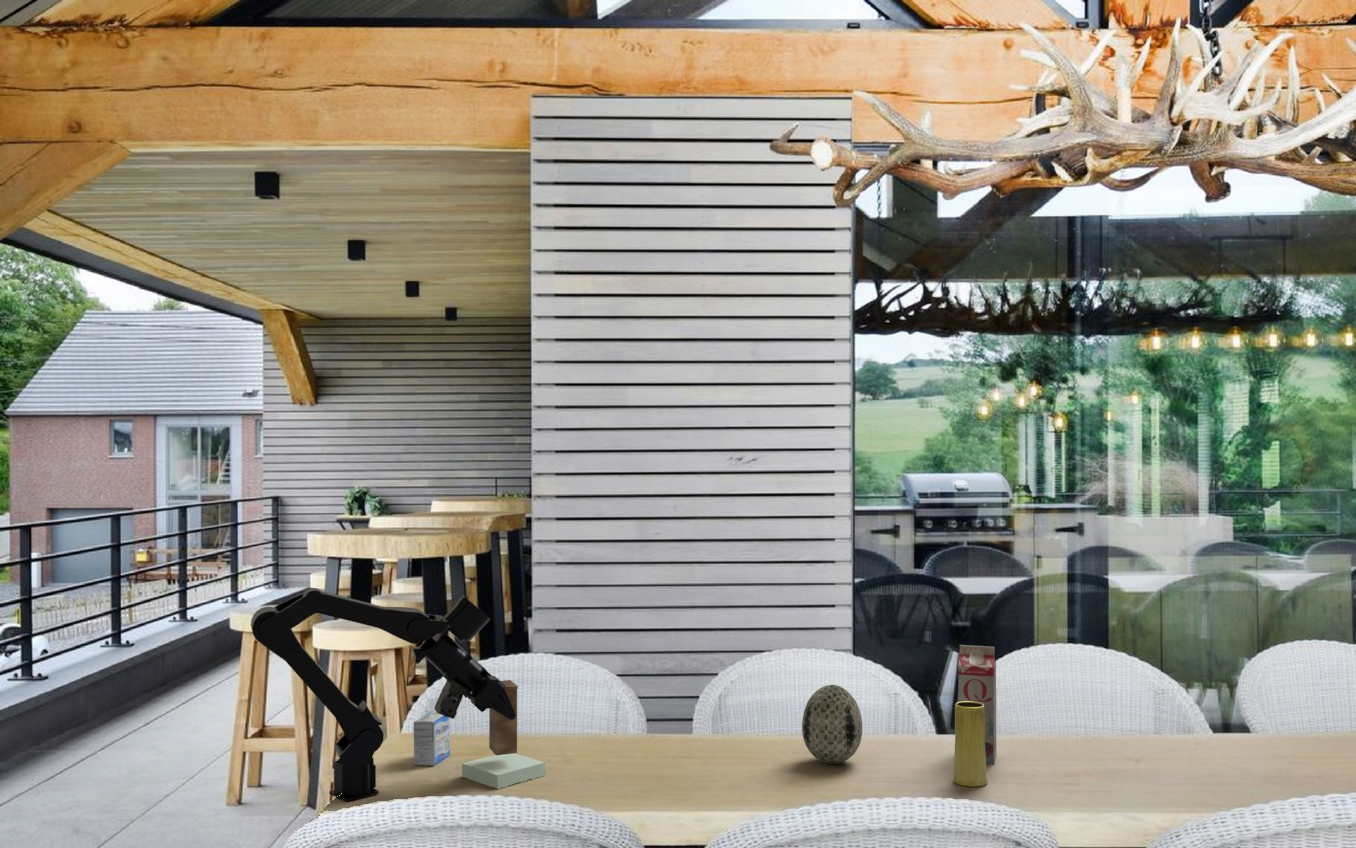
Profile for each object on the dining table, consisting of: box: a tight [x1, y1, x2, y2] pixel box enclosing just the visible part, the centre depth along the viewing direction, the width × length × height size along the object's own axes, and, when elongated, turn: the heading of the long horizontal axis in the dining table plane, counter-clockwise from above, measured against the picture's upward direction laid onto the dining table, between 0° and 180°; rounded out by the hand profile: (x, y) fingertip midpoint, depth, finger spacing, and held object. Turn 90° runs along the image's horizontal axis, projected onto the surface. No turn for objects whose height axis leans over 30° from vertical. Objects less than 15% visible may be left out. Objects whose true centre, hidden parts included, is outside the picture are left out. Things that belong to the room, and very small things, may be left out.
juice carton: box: [957, 644, 997, 765], centre depth 230 cm, size 7×7×22 cm
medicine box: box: [413, 711, 451, 767], centre depth 231 cm, size 8×4×9 cm, turn 168°
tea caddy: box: [488, 679, 519, 755], centre depth 220 cm, size 4×6×12 cm
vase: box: [952, 701, 988, 788], centre depth 214 cm, size 6×6×14 cm
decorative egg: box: [801, 684, 864, 765], centre depth 227 cm, size 12×12×15 cm
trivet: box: [461, 753, 546, 790], centre depth 220 cm, size 11×11×2 cm
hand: (510, 714), depth 221 cm, fingers closed on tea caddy, 5 cm apart
